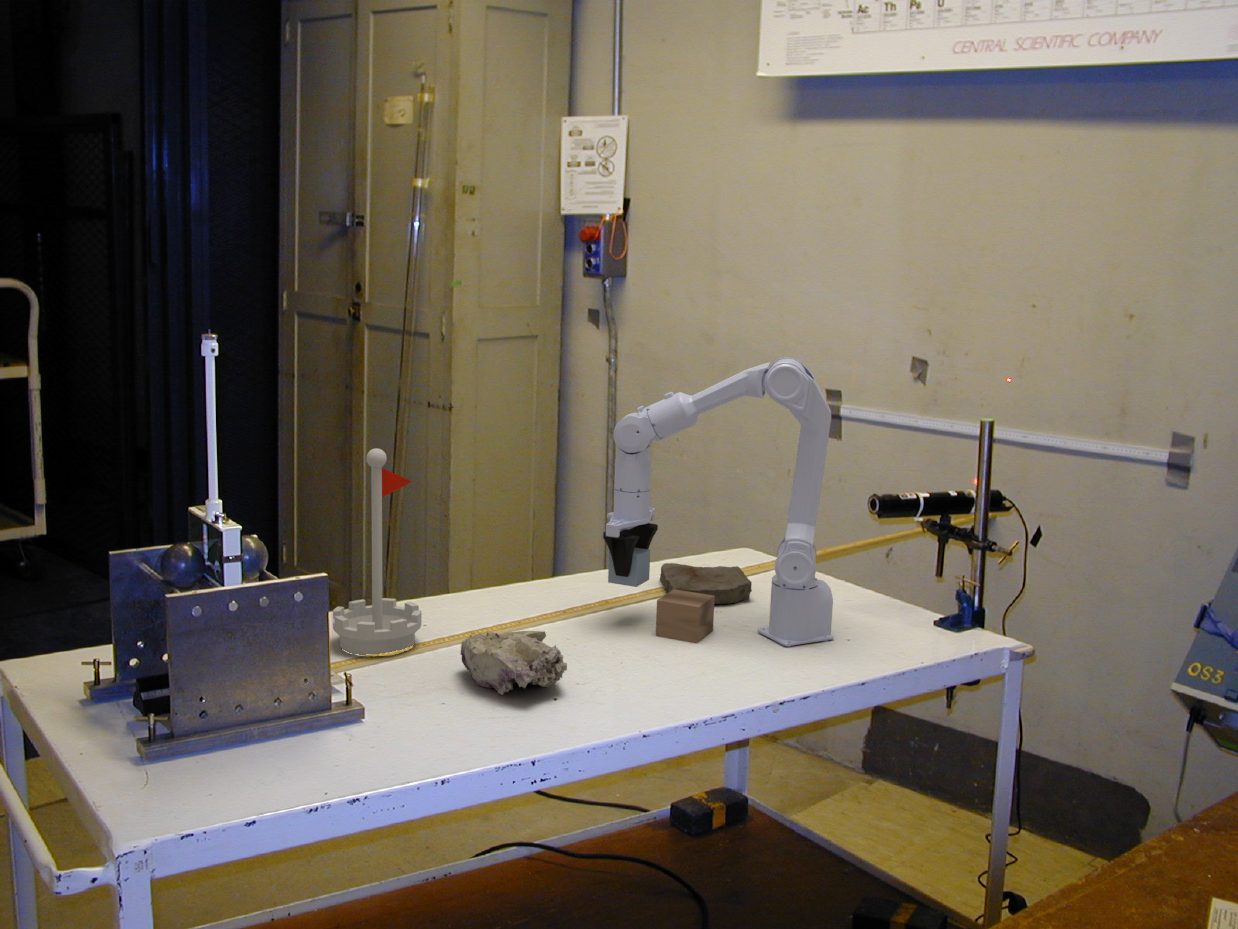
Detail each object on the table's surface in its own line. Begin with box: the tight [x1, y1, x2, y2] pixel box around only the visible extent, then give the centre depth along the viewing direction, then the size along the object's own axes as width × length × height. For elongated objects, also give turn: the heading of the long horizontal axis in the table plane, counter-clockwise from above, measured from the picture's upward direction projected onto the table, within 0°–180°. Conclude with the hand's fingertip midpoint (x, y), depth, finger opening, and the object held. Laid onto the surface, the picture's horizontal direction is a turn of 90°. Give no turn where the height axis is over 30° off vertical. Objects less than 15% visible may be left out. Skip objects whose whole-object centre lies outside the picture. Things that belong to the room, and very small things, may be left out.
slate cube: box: [607, 548, 651, 588], centre depth 192 cm, size 5×5×5 cm
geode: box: [460, 630, 568, 695], centre depth 165 cm, size 17×9×15 cm
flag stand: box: [332, 447, 422, 655], centre depth 177 cm, size 13×13×30 cm
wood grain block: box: [655, 589, 715, 645], centre depth 189 cm, size 7×7×6 cm
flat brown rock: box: [659, 562, 753, 605], centre depth 211 cm, size 17×15×4 cm
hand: (629, 571), depth 192 cm, fingers closed on slate cube, 5 cm apart
